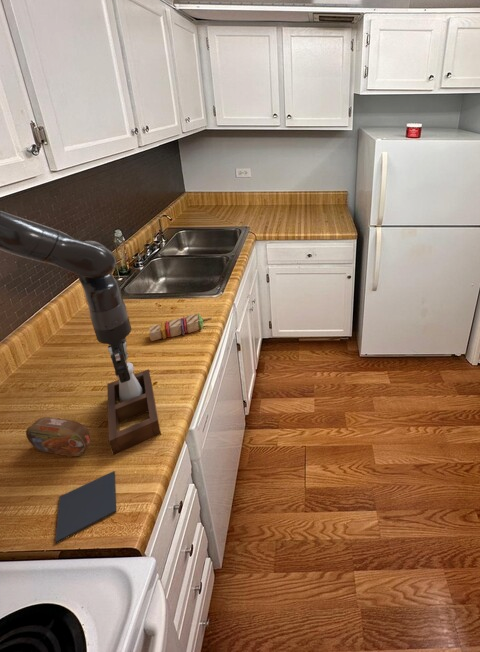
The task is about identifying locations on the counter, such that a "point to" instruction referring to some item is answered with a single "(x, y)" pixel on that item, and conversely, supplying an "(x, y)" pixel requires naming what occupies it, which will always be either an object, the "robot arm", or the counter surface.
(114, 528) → the counter surface
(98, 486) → the mat
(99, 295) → the robot arm
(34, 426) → the tin
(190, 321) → the skewer
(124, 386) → the salt shaker
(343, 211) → the counter surface
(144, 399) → the rack
